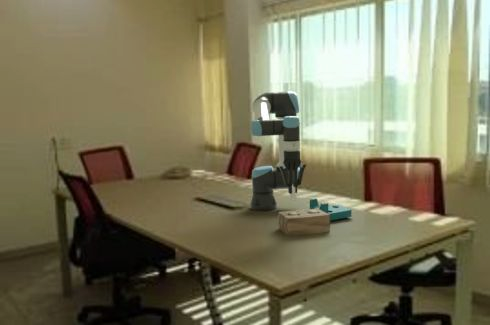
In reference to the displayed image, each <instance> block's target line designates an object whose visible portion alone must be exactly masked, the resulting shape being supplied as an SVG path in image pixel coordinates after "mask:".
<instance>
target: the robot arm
mask: <svg viewBox="0 0 490 325" xmlns="http://www.w3.org/2000/svg"><path fill="white" fill-rule="evenodd" d="M252 111H253V113H254V120H252V121H251V122H250V127H251V128H250V130H251V136H253V137H267V136H269V137H270V136H277V137H278V163H276V168H274V167H273V166H272V165H262V166H257V167H254V169H252V171H251V174H252V175H251V179H252V181H251V182H252V196H251V199H250V203H249V209H250V210H254V211H272V210H275V209H278V208H277V207H278V206H277V205H278V203H277V199H276V198H275V195H274V190H284V189H285V190H287V189H288V194H289V195H290V200H291V201H292V202H296V201H297V200H296V194H297V193H298V187H299V186H301V185H302V181H303V176H304V170H305V169H306V167H307V164H305V163H303V162H302V161H301V151H300V149H301V138H300V137H301V136H300V135H301V134H300V133H301V132H300V125H301V123H300V117H299V116H297V114H299V113H300V106H299V99H298V95H297V92H295V91H288V90H287V91H271V92H270V91H269V92H264V93H262V94H260V95H258V96H257V97H256V98H255V99H254V101H253V103H252ZM271 114H274V116H275V119H271Z"/></svg>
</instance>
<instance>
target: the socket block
mask: <svg viewBox="0 0 490 325" xmlns="http://www.w3.org/2000/svg"><path fill="white" fill-rule="evenodd" d="M312 210H315V211H318V213H317V214H309V211H312ZM292 212H295V213H298V215H297V216H289V213H292ZM330 221H331V220H330V219H329V214H327V213H325V212H323V211H322V210H320V209H318V208H317V209H310V208H308V209H307V208H306V209H299V210H289V211H288V210H287V211H279V212H278V229H279V230H280V231H281V232H283V233H284V234H286V235H287V236H288V237H294V236H300V235H301V236H302V235H310V234H320V233H328V232H330V230H331V228H330V224H331V223H330Z"/></svg>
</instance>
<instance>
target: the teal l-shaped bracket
mask: <svg viewBox="0 0 490 325" xmlns="http://www.w3.org/2000/svg"><path fill="white" fill-rule="evenodd" d="M318 202H319V201H318V198H316V197H315V198H310V199H309V209H317V208H318V209H320V210H322V211H323V212H325V213H327V214H329V219H330V221H335V220H340V219H346V218H351V217H352V209H351V208H348V207H345V206H343V205H340V204H335V205H329V202H322V203H320V205H319V203H318Z"/></svg>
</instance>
